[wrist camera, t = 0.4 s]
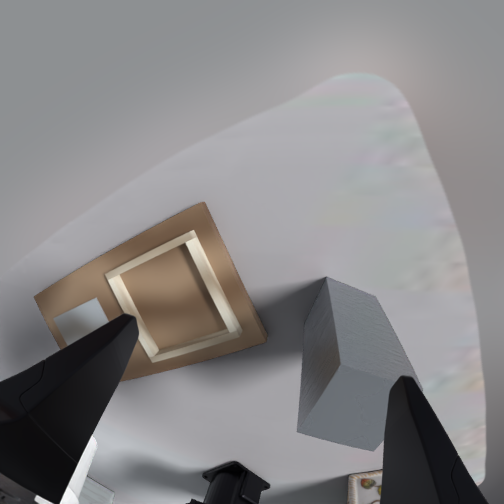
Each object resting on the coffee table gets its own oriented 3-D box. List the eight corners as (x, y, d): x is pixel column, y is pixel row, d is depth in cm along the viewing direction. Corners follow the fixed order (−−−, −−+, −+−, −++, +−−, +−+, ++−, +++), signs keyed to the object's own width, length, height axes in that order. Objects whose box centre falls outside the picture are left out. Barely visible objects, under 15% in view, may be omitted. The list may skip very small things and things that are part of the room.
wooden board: (267, 335, 27) (264, 349, 25) (89, 383, 33) (79, 393, 30) (204, 201, 25) (194, 203, 23) (40, 293, 31) (26, 299, 29)
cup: (124, 450, 35) (79, 515, 22) (97, 468, 38) (59, 520, 25) (59, 391, 35) (0, 444, 22) (43, 419, 38) (-4, 464, 25)
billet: (351, 342, 26) (373, 451, 13) (304, 324, 26) (296, 432, 14) (375, 296, 25) (423, 390, 12) (326, 276, 25) (341, 363, 13)
